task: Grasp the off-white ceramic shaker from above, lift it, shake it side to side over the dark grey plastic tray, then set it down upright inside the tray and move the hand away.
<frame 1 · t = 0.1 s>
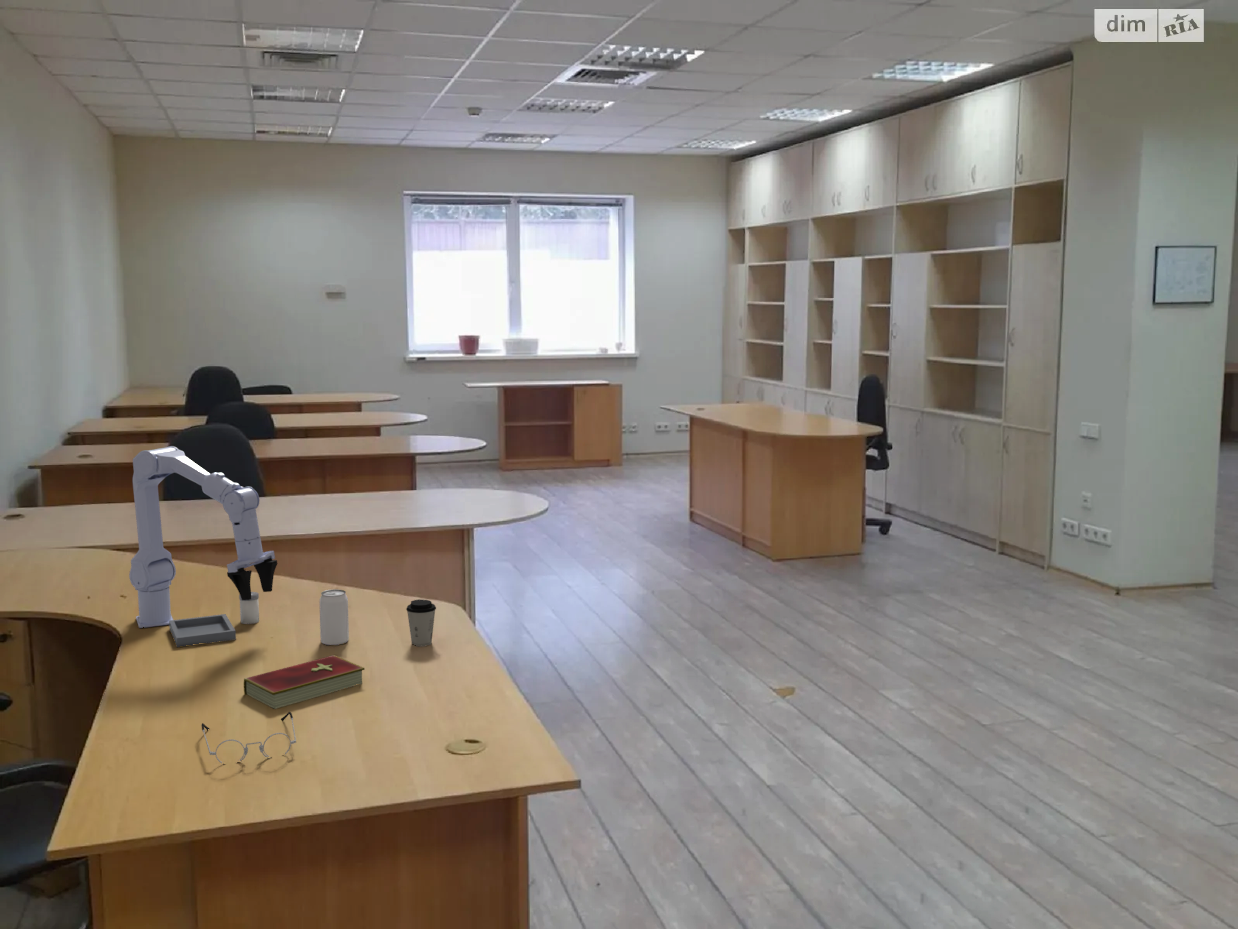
hand: (257, 595, 255), 10 cm above the table, tool pointing down, fingers open, 7 cm apart
tray: (202, 634, 259), on the table
hardcover book: (305, 692, 225), on the table
eyeglasses: (250, 745, 198), on the table
shaker: (249, 621, 270), on the table
coffee cup: (421, 644, 255), on the table
can: (334, 642, 255), on the table
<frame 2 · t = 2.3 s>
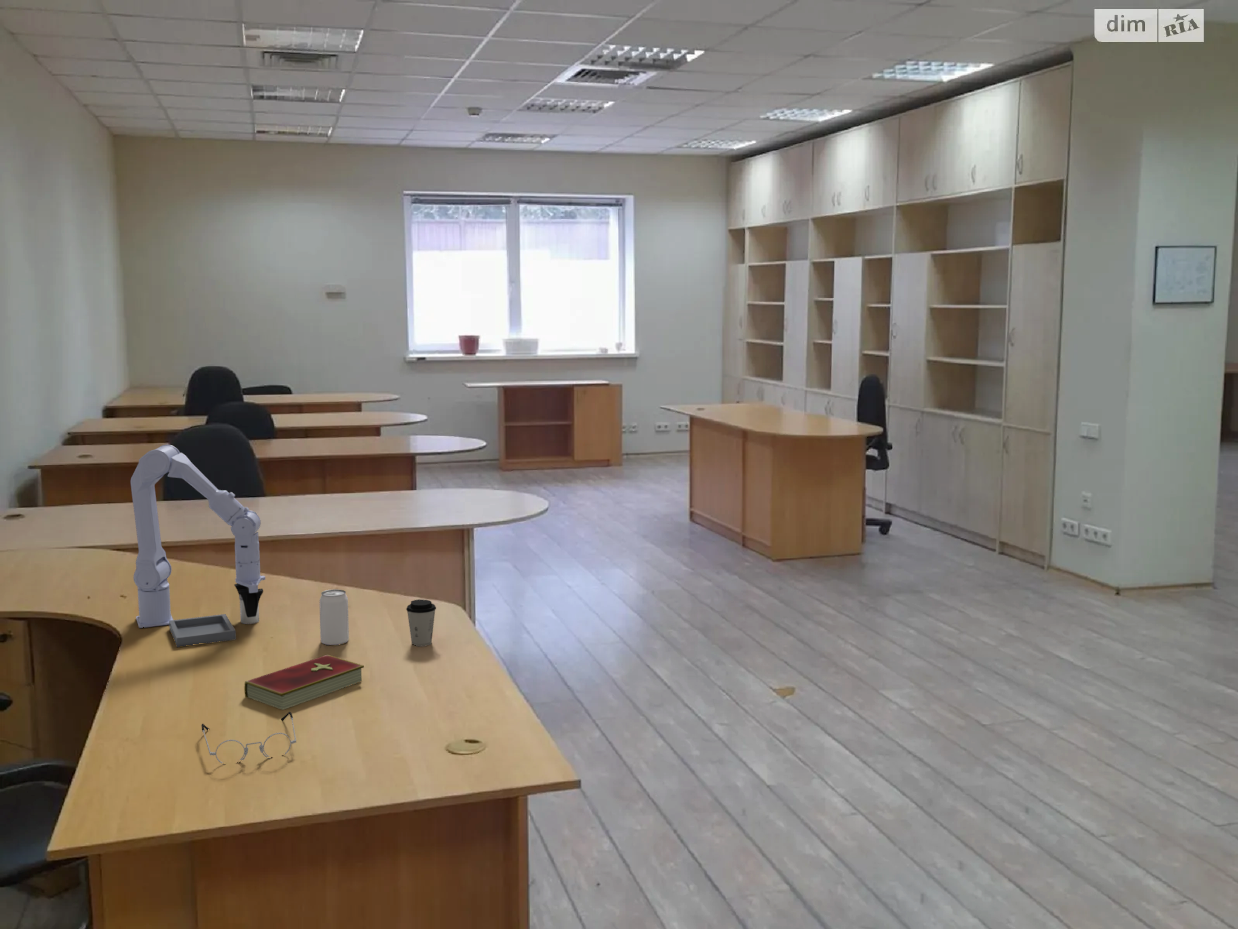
hand: (249, 613, 269), 2 cm above the table, tool pointing down, fingers closed on shaker, 4 cm apart
shaker: (249, 621, 270), on the table, touching gripper
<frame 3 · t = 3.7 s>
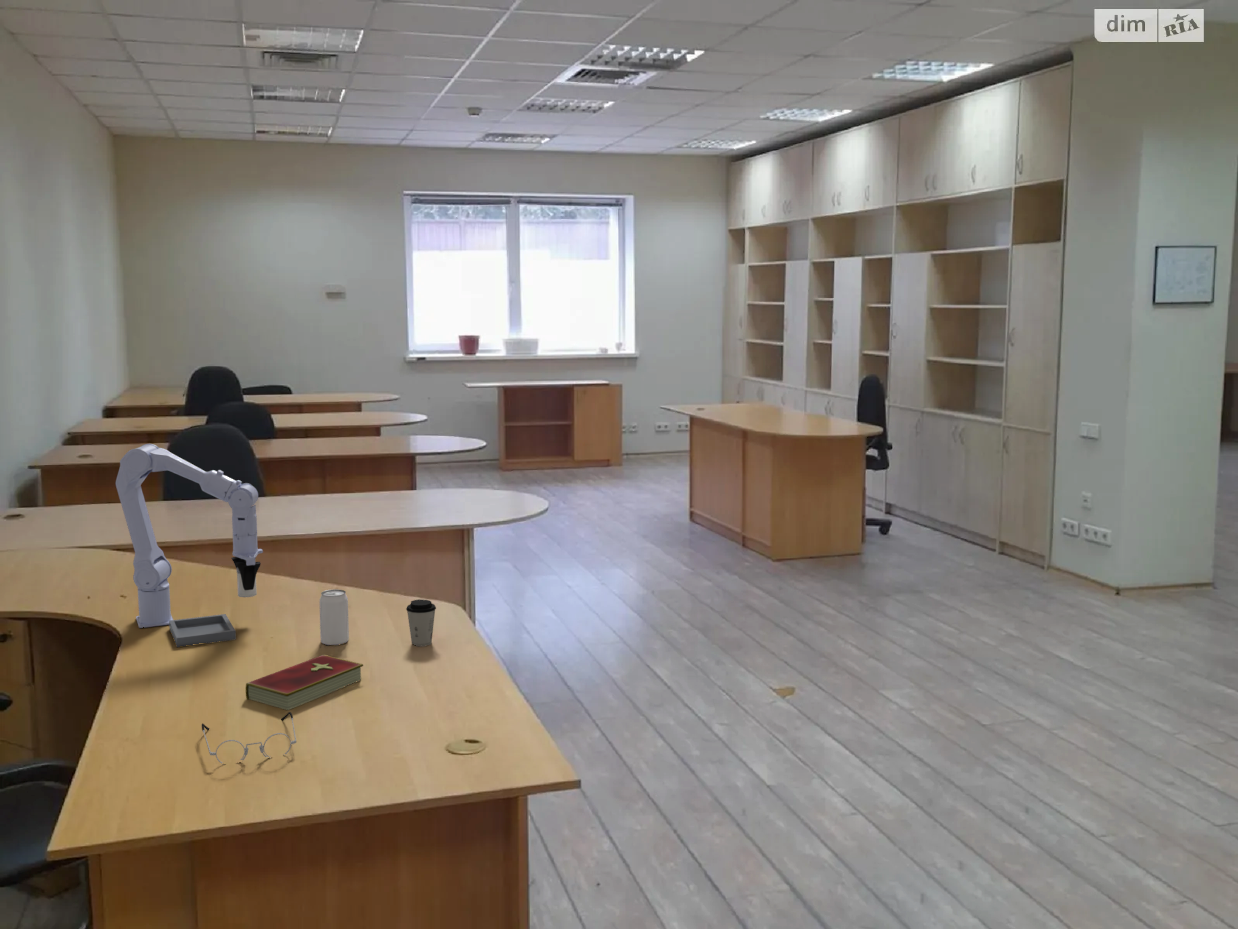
hand: (246, 587, 268), 9 cm above the table, tool pointing down, fingers closed on shaker, 4 cm apart
shaker: (247, 594, 268), point 7 cm above the table, touching gripper
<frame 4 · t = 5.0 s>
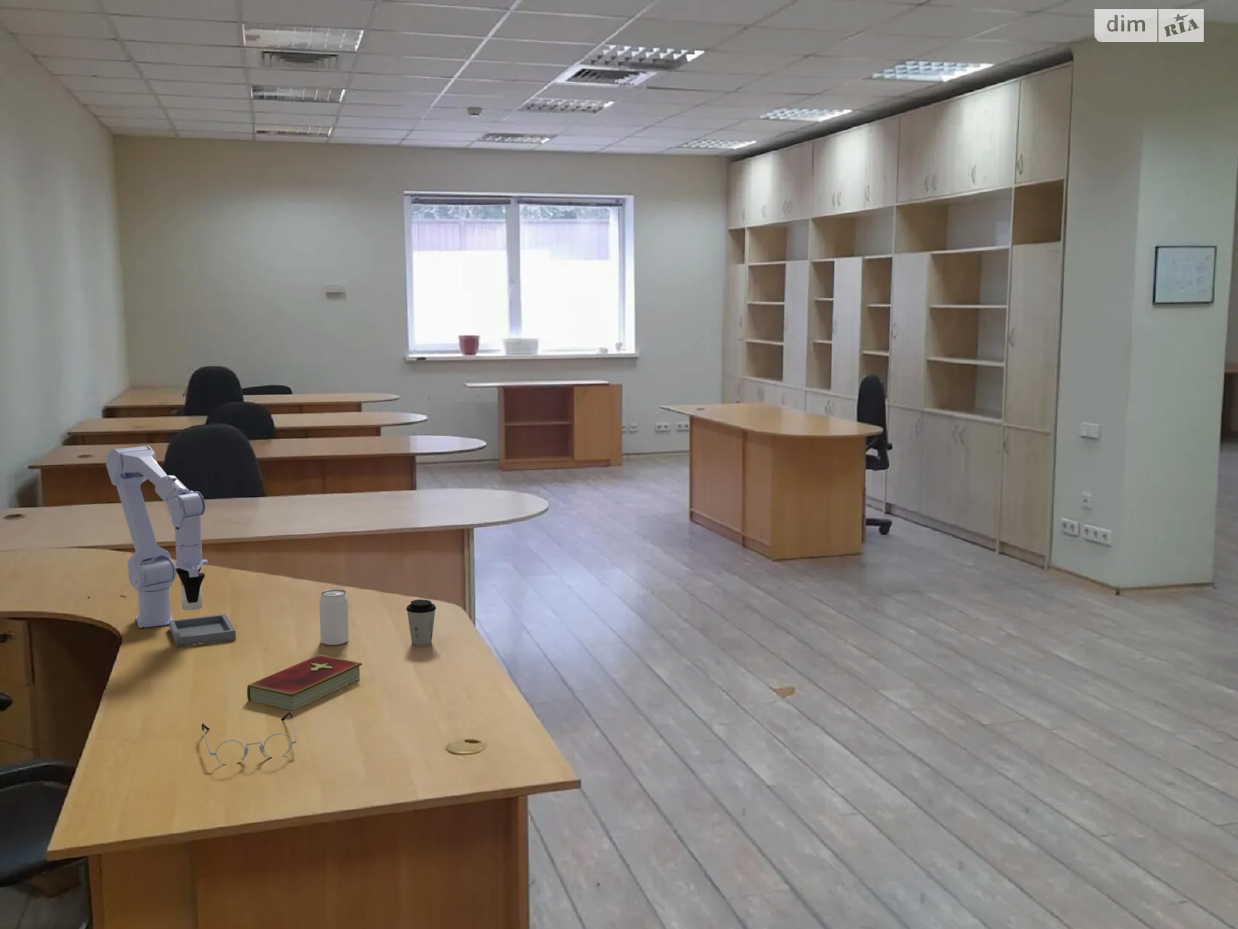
hand: (191, 599, 256), 9 cm above the table, tool pointing down, fingers closed on shaker, 4 cm apart
shaker: (192, 607, 257), point 7 cm above the table, touching gripper
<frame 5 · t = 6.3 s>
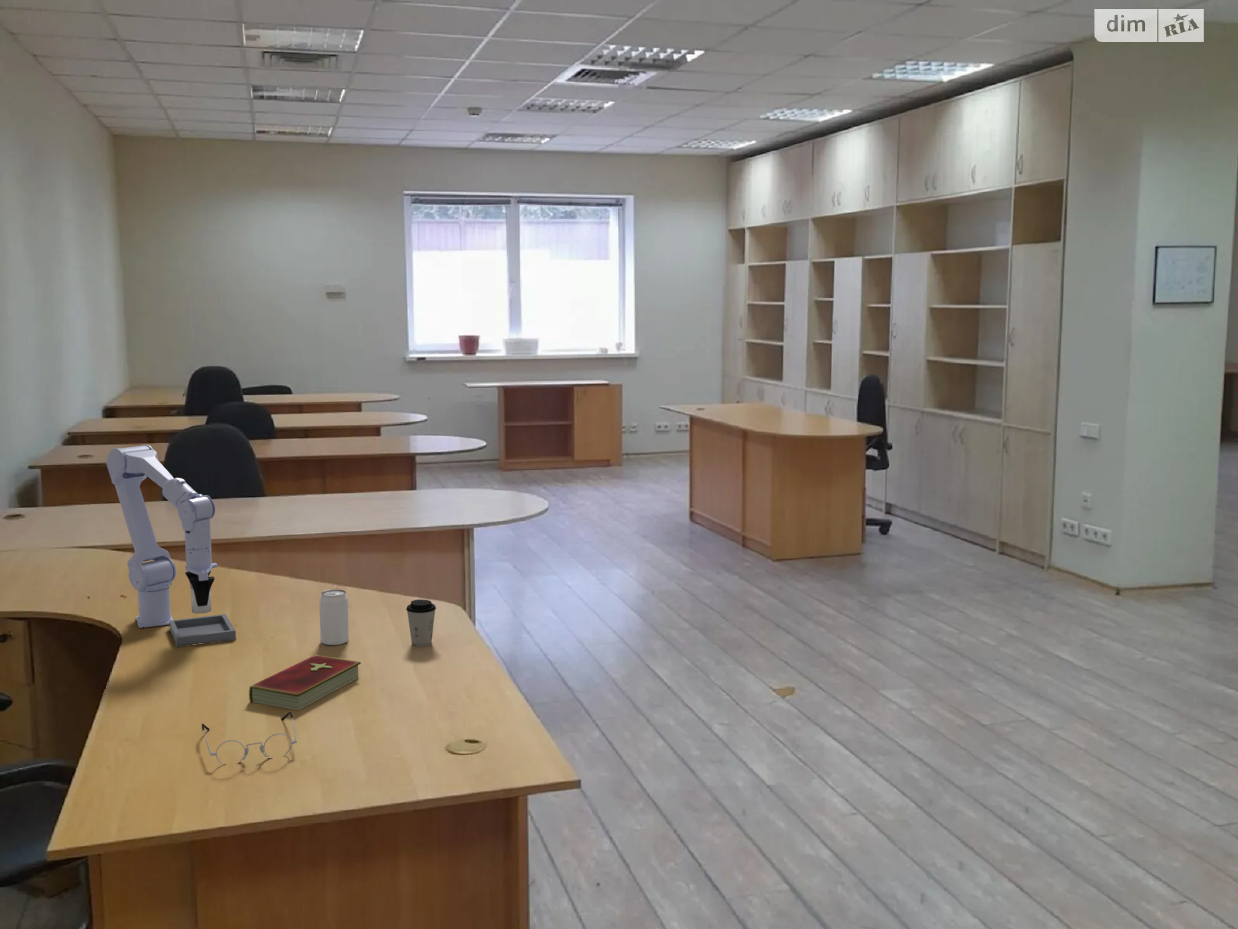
hand: (200, 603, 258), 8 cm above the table, tool pointing down, fingers closed on shaker, 4 cm apart
shaker: (201, 611, 258), point 6 cm above the table, touching gripper
when the fingers open (4 cm above the table, at t = 7.6 s): shaker drops 1 cm, resting on tray.
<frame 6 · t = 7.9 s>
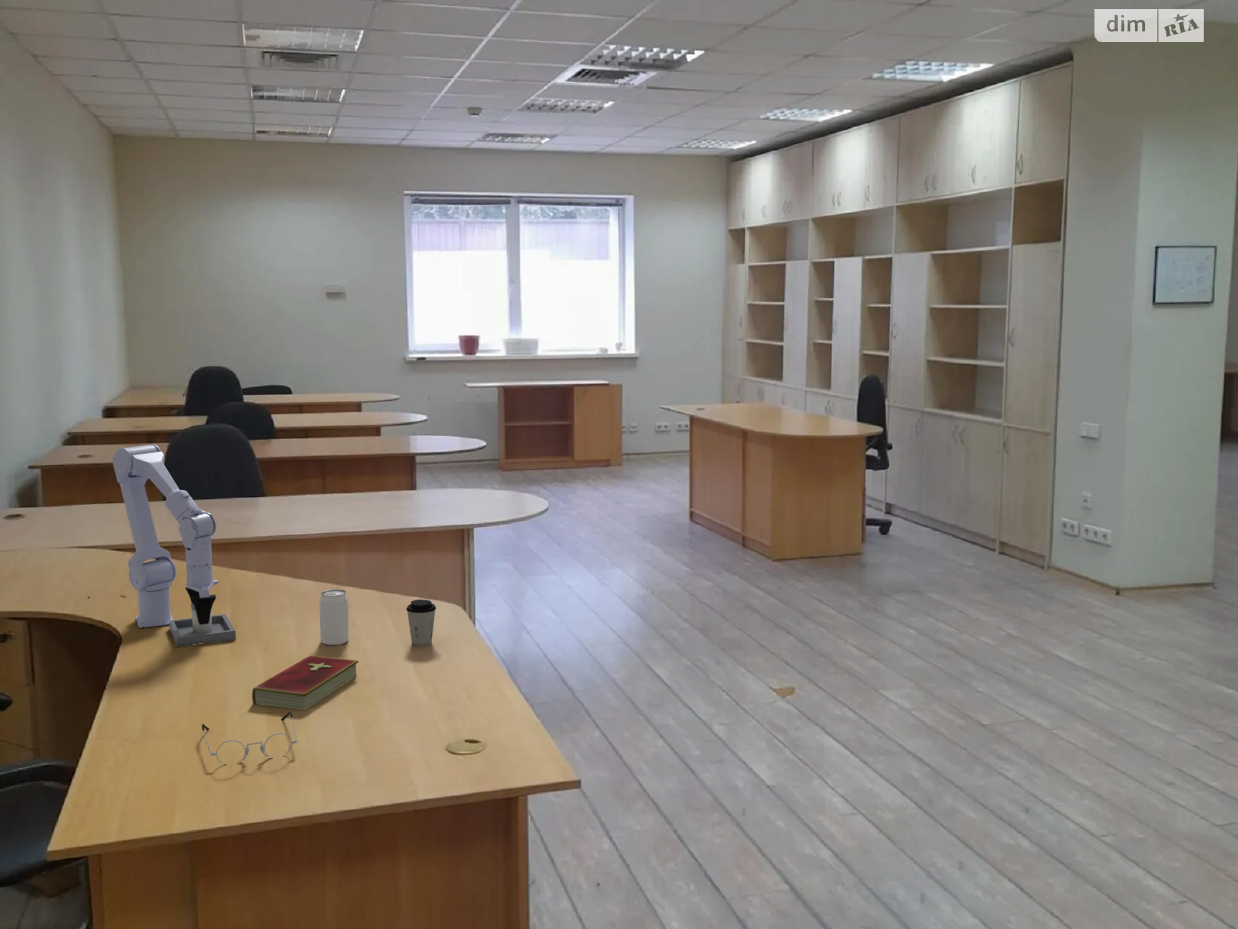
hand: (201, 619, 258), 4 cm above the table, tool pointing down, fingers open, 7 cm apart
shaker: (202, 632, 259), point 1 cm above the table, touching tray
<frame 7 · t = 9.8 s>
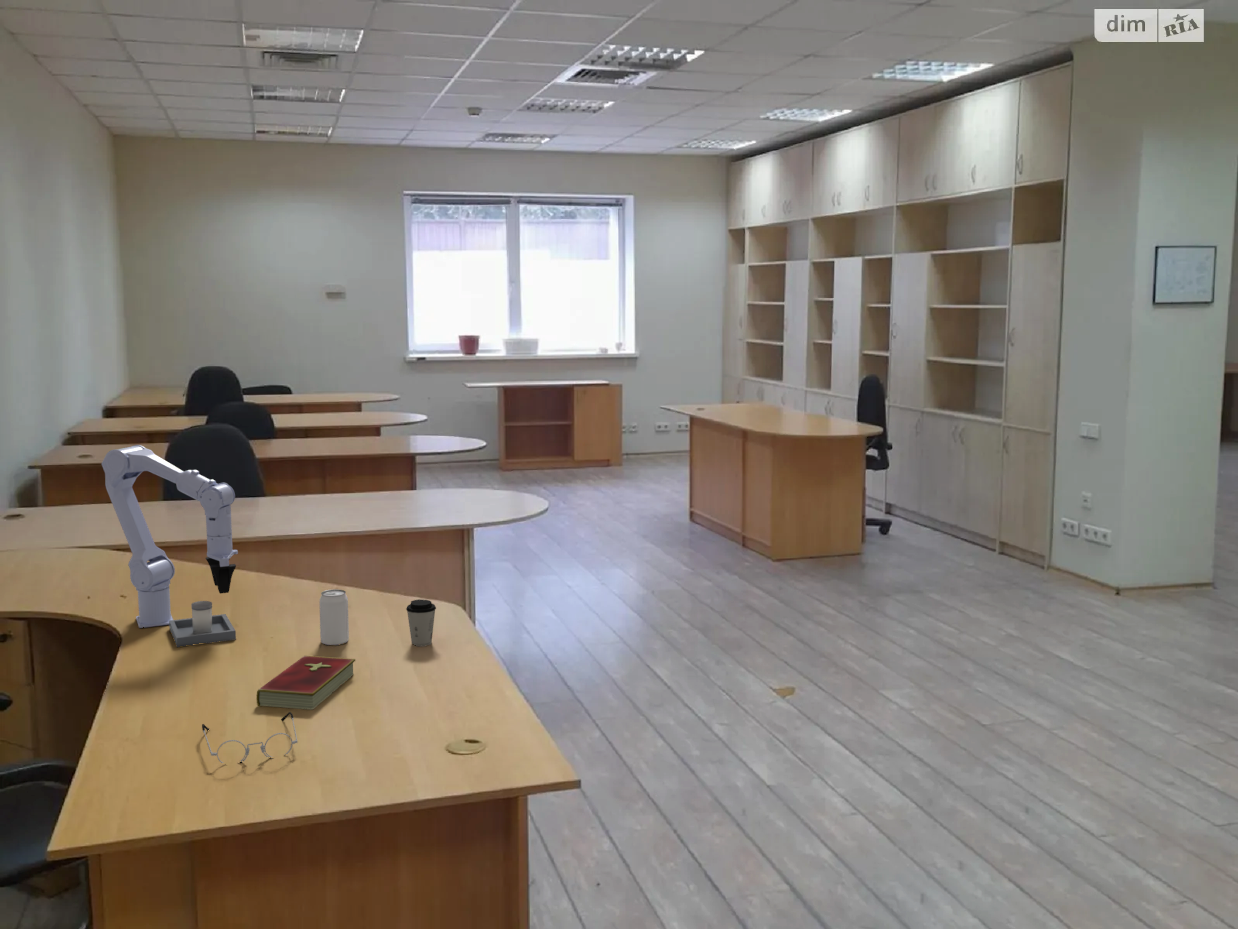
hand: (221, 589, 262), 10 cm above the table, tool pointing down, fingers open, 7 cm apart
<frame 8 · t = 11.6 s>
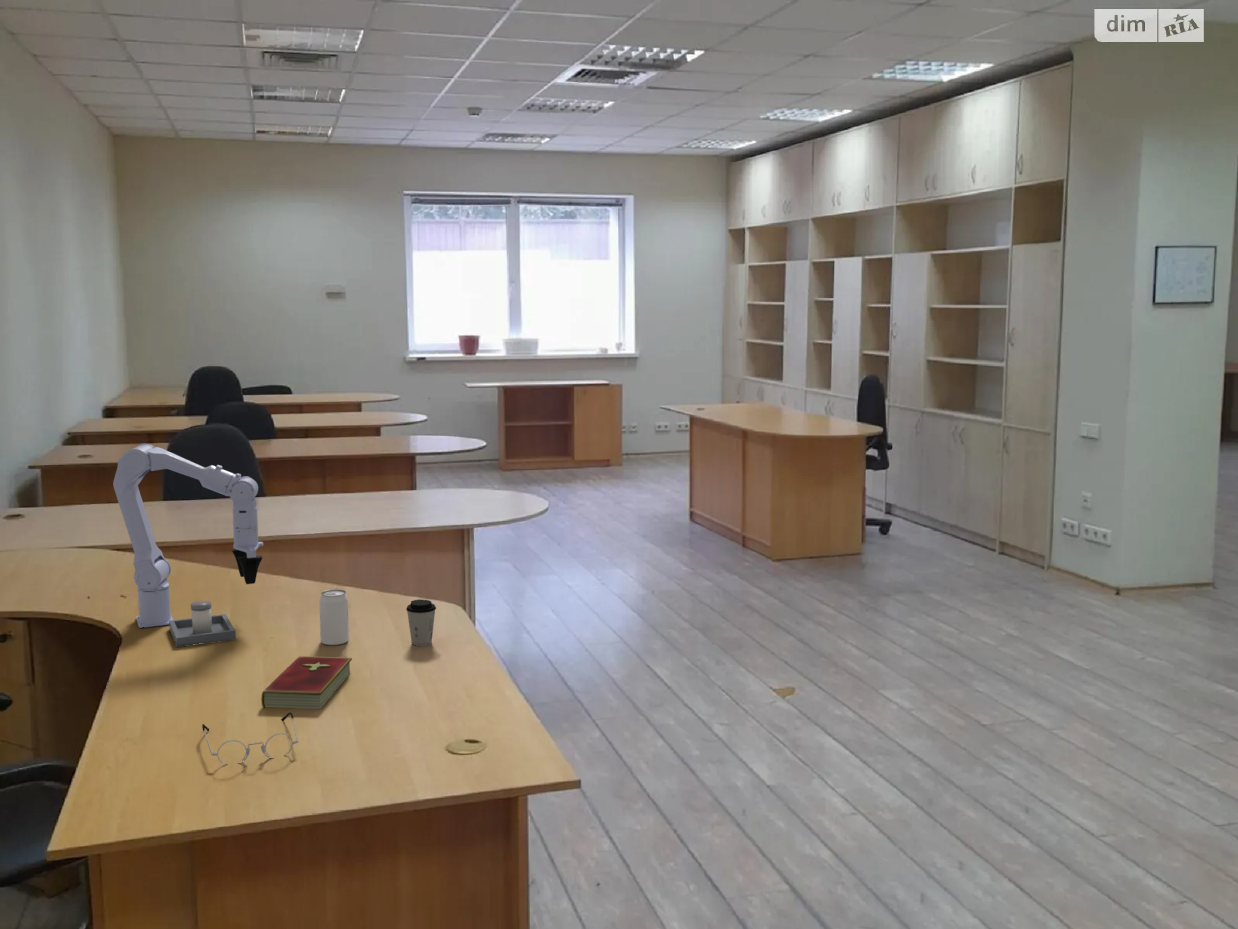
hand: (247, 580, 269), 10 cm above the table, tool pointing down, fingers open, 7 cm apart
at the end: shaker inside the target area on the tray (0.1 cm from its centre), point 0.7 cm above the tray's base; shaker tilted 2°; the gripper is holding nothing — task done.
